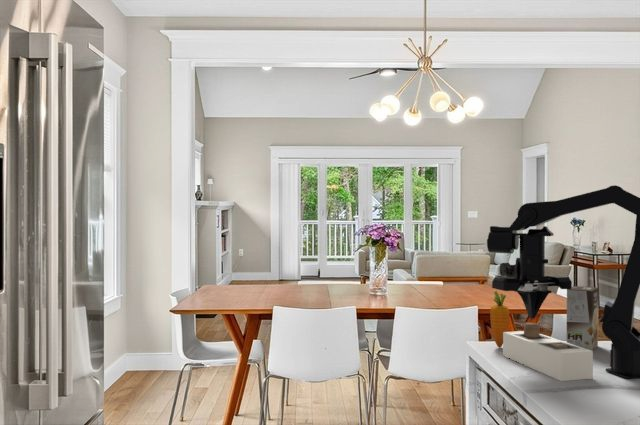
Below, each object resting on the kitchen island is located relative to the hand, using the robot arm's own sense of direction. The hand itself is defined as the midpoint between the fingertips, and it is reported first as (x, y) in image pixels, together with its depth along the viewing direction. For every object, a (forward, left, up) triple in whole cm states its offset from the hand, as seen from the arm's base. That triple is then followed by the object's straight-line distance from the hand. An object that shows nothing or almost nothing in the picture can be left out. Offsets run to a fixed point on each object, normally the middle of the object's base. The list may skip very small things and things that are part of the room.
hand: (531, 318), depth 135 cm
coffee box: (+9, -22, -11) cm, 26 cm away
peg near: (-10, 0, -10) cm, 14 cm away
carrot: (+14, 0, -11) cm, 18 cm away
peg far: (0, 0, -7) cm, 7 cm away
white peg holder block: (-5, 0, -10) cm, 11 cm away
